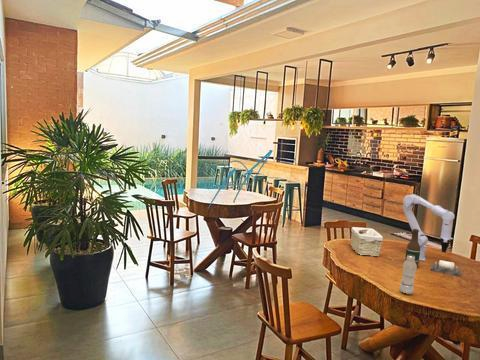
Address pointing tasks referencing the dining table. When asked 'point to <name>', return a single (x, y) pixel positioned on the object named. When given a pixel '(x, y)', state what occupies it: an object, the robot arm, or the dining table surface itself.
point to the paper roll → (446, 265)
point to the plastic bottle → (408, 275)
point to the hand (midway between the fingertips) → (443, 250)
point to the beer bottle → (414, 247)
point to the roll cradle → (446, 270)
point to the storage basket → (366, 241)
